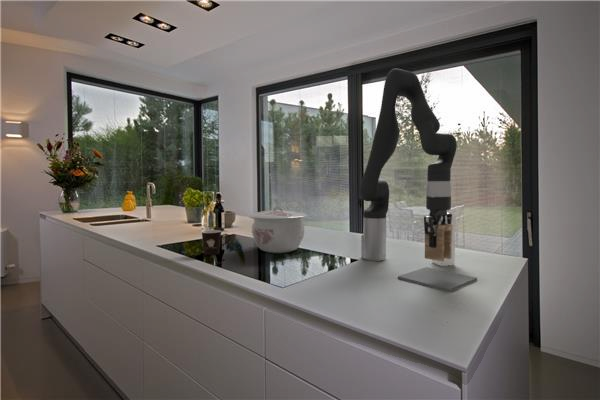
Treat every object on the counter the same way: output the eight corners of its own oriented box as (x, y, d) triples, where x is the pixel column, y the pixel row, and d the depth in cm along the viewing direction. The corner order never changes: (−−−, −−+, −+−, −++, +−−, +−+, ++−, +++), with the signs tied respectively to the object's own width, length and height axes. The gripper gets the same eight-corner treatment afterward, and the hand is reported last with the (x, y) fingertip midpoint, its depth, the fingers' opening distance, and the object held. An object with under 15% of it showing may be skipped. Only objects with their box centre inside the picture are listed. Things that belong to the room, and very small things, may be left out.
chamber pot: (301, 258, 146) (301, 209, 145) (240, 255, 152) (239, 208, 150) (312, 245, 173) (312, 204, 172) (260, 243, 179) (259, 203, 178)
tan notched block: (442, 261, 110) (443, 226, 109) (424, 258, 115) (424, 224, 114) (451, 258, 114) (452, 224, 113) (433, 255, 119) (434, 222, 118)
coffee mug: (198, 255, 154) (197, 232, 153) (208, 251, 162) (208, 229, 161) (221, 256, 150) (221, 233, 149) (231, 252, 158) (230, 230, 158)
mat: (397, 278, 116) (397, 276, 116) (426, 269, 128) (426, 267, 128) (449, 292, 102) (449, 289, 102) (476, 280, 114) (477, 277, 114)
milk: (440, 266, 132) (441, 208, 130) (431, 262, 138) (432, 207, 136) (454, 265, 133) (456, 208, 131) (445, 261, 139) (446, 206, 137)
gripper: (438, 193, 121) (438, 241, 122) (416, 195, 111) (415, 247, 113) (460, 194, 115) (459, 244, 116) (438, 196, 106) (437, 250, 107)
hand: (437, 245), depth 114 cm, fingers closed on tan notched block, 6 cm apart
